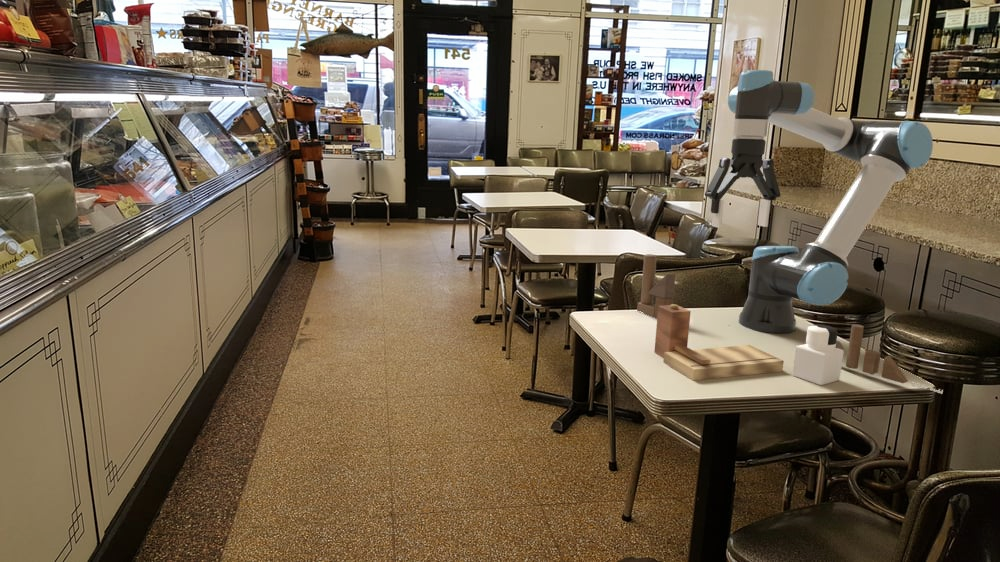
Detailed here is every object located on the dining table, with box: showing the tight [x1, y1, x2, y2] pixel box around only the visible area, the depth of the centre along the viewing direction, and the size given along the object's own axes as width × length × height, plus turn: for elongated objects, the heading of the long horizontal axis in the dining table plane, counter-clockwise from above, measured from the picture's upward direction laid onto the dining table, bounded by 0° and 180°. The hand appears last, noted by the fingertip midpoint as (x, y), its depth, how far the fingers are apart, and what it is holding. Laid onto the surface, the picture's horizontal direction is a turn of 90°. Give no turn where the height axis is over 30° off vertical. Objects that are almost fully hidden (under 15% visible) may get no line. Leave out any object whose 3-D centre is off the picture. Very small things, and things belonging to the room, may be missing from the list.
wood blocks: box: [835, 323, 944, 395], centre depth 155 cm, size 25×3×10 cm, turn 36°
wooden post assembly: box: [636, 253, 677, 319], centre depth 197 cm, size 4×11×18 cm, turn 32°
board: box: [662, 344, 785, 381], centre depth 158 cm, size 24×12×3 cm, turn 109°
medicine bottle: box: [792, 323, 844, 386], centre depth 152 cm, size 7×7×12 cm
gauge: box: [653, 303, 710, 365], centre depth 158 cm, size 5×17×13 cm, turn 19°
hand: (739, 226), depth 167 cm, fingers open, 13 cm apart
